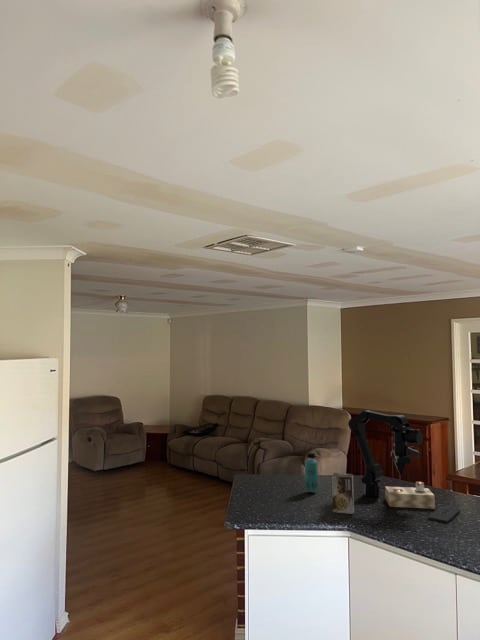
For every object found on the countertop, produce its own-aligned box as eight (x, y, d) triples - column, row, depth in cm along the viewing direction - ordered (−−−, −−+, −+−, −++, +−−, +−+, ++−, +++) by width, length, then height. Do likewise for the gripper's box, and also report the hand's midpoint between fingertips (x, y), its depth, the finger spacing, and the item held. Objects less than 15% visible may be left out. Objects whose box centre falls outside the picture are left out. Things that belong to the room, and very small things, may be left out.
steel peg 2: (417, 495, 220) (416, 483, 221) (415, 493, 224) (414, 481, 224) (424, 496, 220) (424, 483, 220) (423, 493, 223) (422, 481, 224)
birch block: (389, 506, 217) (389, 493, 218) (385, 498, 229) (385, 486, 230) (434, 508, 215) (434, 495, 215) (428, 500, 226) (427, 488, 227)
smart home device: (460, 509, 210) (447, 520, 195) (461, 513, 210) (447, 525, 195) (441, 505, 216) (427, 516, 200) (441, 509, 216) (427, 520, 200)
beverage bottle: (303, 491, 242) (303, 451, 244) (316, 490, 243) (315, 451, 244) (306, 494, 236) (306, 454, 237) (319, 494, 236) (318, 454, 238)
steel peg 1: (395, 503, 221) (394, 491, 222) (393, 501, 225) (393, 489, 225) (403, 503, 221) (402, 491, 221) (401, 501, 224) (401, 489, 225)
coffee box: (354, 510, 212) (353, 473, 213) (353, 514, 206) (352, 477, 207) (334, 507, 215) (333, 472, 216) (332, 512, 209) (331, 475, 210)
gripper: (422, 445, 214) (423, 480, 213) (413, 439, 233) (414, 471, 231) (396, 445, 216) (397, 479, 215) (390, 438, 234) (391, 470, 233)
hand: (401, 475), depth 223 cm, fingers closed
